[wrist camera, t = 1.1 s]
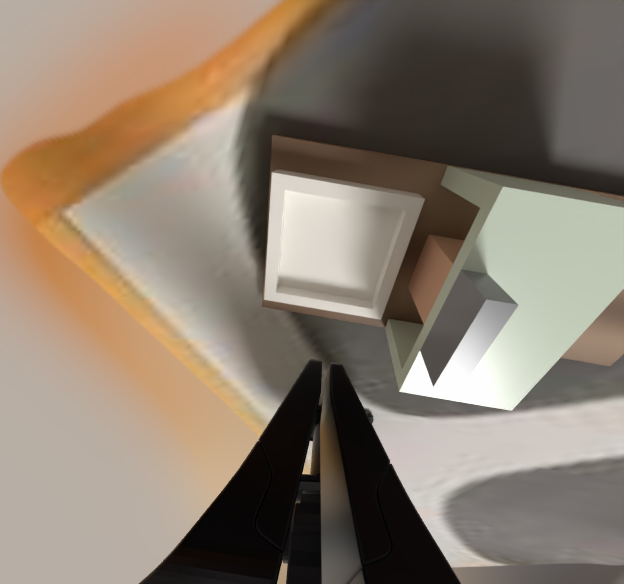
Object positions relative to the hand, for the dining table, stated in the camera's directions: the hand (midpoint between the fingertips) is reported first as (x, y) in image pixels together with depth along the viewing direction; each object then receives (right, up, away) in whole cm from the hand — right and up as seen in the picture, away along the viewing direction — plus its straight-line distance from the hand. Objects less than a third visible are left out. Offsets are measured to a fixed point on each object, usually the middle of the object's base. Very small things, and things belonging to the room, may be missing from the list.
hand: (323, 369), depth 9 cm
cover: (+10, +4, +9) cm, 14 cm away
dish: (+1, +6, +9) cm, 11 cm away
